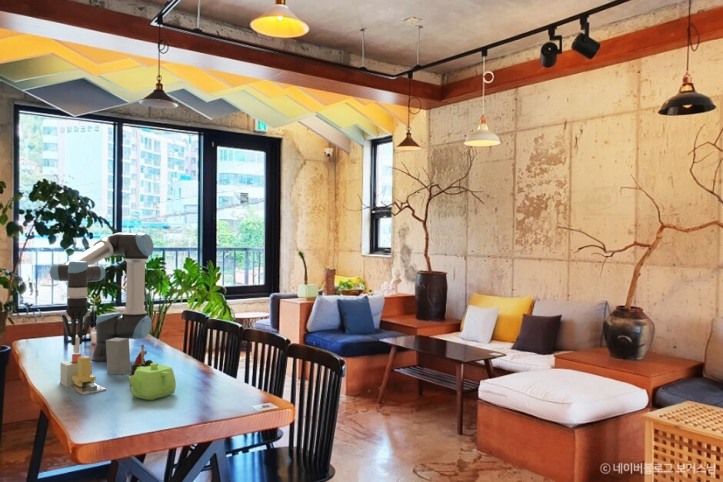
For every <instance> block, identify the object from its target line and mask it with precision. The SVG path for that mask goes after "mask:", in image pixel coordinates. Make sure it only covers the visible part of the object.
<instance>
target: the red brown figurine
mask: <svg viewBox="0 0 723 482" xmlns="http://www.w3.org/2000/svg"><path fill="white" fill-rule="evenodd" d="M140 347H141V350H140V352H139V353H138V354H137V357H136V358H135V360H134V363H133V364H132V366H131V370H130V374H129V377H130V376H132V375H133V376H134V373H135V370H136V369H137V367H140V366H143V367H147V366H150V364H151V363H154V362H153V361H152V359H148V360H145V356H146V355H147V354H148V351H147V350H145V345H144V344H141V346H140ZM131 386H132V385H131V384H129V388H130V389H131Z"/></svg>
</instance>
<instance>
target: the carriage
mask: <svg viewBox="0 0 723 482" xmlns="http://www.w3.org/2000/svg"><path fill="white" fill-rule="evenodd" d="M91 362H92V356H88V355H81V356H80V357H78V369H77V375H76V376H72V380H73V381H74V384H76V385H77V386H79V387H82V383H83V382H90V383H92V384H94V383H95V382H96V381H97V380H96V379H97V376H95V375H93V373H92V374H90V367H91Z"/></svg>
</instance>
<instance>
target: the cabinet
mask: <svg viewBox="0 0 723 482" xmlns="http://www.w3.org/2000/svg"><path fill="white" fill-rule="evenodd" d="M77 369H78V363H74V364H72V360H68V361H67V360H66V361H62V362H60V375H59V376H60V379H59V380H60V382H59V383H60V384H61V385H63V386H64V387H66V388H69V385H75V384H74V381H73V380H72V376H76V375H77ZM90 374H92V375H93V361H91V367H90Z"/></svg>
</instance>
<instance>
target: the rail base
mask: <svg viewBox="0 0 723 482" xmlns="http://www.w3.org/2000/svg"><path fill="white" fill-rule="evenodd" d="M68 388H69V389H71V390H73V391H75V392H77V393H78V394H81V395H82V396H84V395H90V393H91V394H95V393H100V392H106V391H107V388H105V387H103V386H101V385H99V384H97V383H95V382H94V384H92V383H90V382H83V383H82V387H79V386H77V385H76V384H75V385H69V387H68Z"/></svg>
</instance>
